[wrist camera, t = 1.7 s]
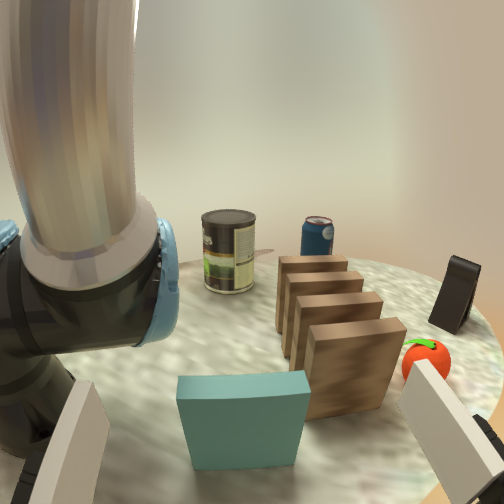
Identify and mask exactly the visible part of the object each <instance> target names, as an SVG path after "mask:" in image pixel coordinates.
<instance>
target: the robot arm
mask: <svg viewBox="0 0 504 504" xmlns="http://www.w3.org/2000/svg"><path fill="white" fill-rule="evenodd" d="M138 5H139V0H0V124H1V129H2V134H3V139H4V143H5V147H6V152H7V156H8V160H9V164H10V168H11V171H12V175H13V179H14V182H15V185H16V189H17V192H18V195H19V198H20V202H21V204H22V208H23V211H24V213H25V216H26V219H27V223H26V225H25V227H24V229H23V232H22V235H21V236H19V235H18V233H19V228H18V227H17V226H16V224H15V222H14V221H13V220H2V221H0V447H1V448H2V449H3V450H5V451H6V452H8V453H10V454H12V455H14V456H17V457H21V458H27V459H26V462H25V465H24V467H23V470H22V471H23V472H22V473H21V475H20V478H19V482H18V483H17V486H16V489H15V492H14V495H13V498H12V501H11V504H92V502H93V497H94V492H95V488H96V483H97V479H98V474H99V470H100V466H101V462H102V457H103V453H104V449H105V445H106V441H107V438H108V434H109V430H110V426H111V424H110V422H109V419H108V417H107V415H106V413H105V410H104V408H103V406H102V403H101V401H100V398H99V396H98V394H97V391H96V389H95V386H94V383H93V381H84V380H76V379H75V377H74V376H73V375H72V374H71V373H70V372H69V371H68V370H66V369H65V368H64V366H63V365H62V363H61V362H60V361H59V359H58V358H57V357H56V356H55V355H54V354H63V353H73V352H83V351H92V350H101V349H109V348H118V347H125V346H131V347H140V346H142V345H144V344H146V343H151V342H156V341H160V340H164V339H165V338H167V337H168V336H169V335H171V333H172V332H173V330H174V328H175V325H176V322H177V318H178V310H179V288H178V285H177V283H178V279H179V267H178V256H177V248H176V242H175V237H174V233H173V230H172V227H171V225H170V223H169V222H168V221H167V220H166V219H163V218H158V217H156V213H155V211H154V209H153V207H152V205H151V203H150V202H149V201H148V200H147V199H146V198H145V197H144V196H143V195H141V194H140V193H138V192H137V191H136V188H135V187H136V186H135V169H134V146H133V145H134V144H133V78H134V77H133V76H134V55H135V39H136V37H135V36H136V25H137V15H138ZM397 406H398V408H399V410H400V411H401V413H402V415H403V417H404V418H405V420H406V422H407V424H408V425H409V427H410V429H411V431H412V432H413V434H414V436H415V438H416V439H417V441H418V443H419V445H420V447H421V448H422V450H423V452H424V454H425V455H426V457H427V459H428V461H429V463H430V465H431V466H432V468H433V470H434V472H435V474H436V476H437V477H438V479H439V481H440V483H441V485H442V487H443V489H444V491H445V493H446V494H447V496H448V498H449V500H450V502H451V504H471V503H472V502H473V501H474V500H475V499H476V498H479V500H480V501H479V502H477V503H476V504H504V444H503V443H502V441H501V440H500V439H499V437H497V434H496V433H495V432H494V431H493V430H492V428H491V426H490V425H489V424H488V422H487V421H486V420H485V419H483V418H482V417H481V416H479V415H478V414H476V415H474V416H471V415H470V413H469V412H468V411H467V409H466V408H465V407H464V405H463V404H462V402H461V401H460V400H459V399H458V397H457V396H456V395H455V393H454V392H453V391H452V389H451V388H450V387H449V385H448V384H447V383H446V382H445V380H444V379H443V378H442V376H441V375H440V374H439V373H438V371H437V370H436V369H435V368H434V366H433V365H432V364H431V363H430V361H429V360H428V359H423V360H419V361H414V362H413V365H412V367H411V370H410V373H409V375H408V378H407V381H406V383H405V386H404V388H403V390H402V393H401V395H400V398H399V400H398V402H397Z"/></svg>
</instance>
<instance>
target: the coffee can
mask: <svg viewBox="0 0 504 504" xmlns="http://www.w3.org/2000/svg"><path fill="white" fill-rule="evenodd" d="M201 219H202V229H203V230H202V231H203V252H204V254H203V255H204V277H205V281H204V284H205V286H206V287H207V288H208V289H209V290H211V291H213V292H216V293H221V294H237V293H241V292H244V291H247V290H249V289H250V288H251V287H252V286H253V285H254V240H255V220H256V216H255V214H253V213H251V212H248V211H243V210H236V209H226V210H225V209H224V210H215V211H210V212H207V213H205V214H203V215H202V217H201Z"/></svg>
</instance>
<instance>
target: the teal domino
mask: <svg viewBox="0 0 504 504" xmlns="http://www.w3.org/2000/svg"><path fill="white" fill-rule="evenodd" d="M310 395H311V390H310V387H309V384H308V381H307V378H306V375H305V372H304V370H302V371H291V372H278V373H264V374H245V375H216V376H179V377H178V386H177V395H176V401H177V405H178V409H179V414H180V418H181V422H182V426H183V430H184V434H185V438H186V441H187V445H188V449H189V453H190V456H191V460H192V463H193V467H194V470H236V469H254V468H266V467H277V466H286V465H294V462H295V458H296V454H297V450H298V446H299V442H300V438H301V434H302V430H303V426H304V422H305V417H306V413H307V409H308V404H309V400H310Z"/></svg>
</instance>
